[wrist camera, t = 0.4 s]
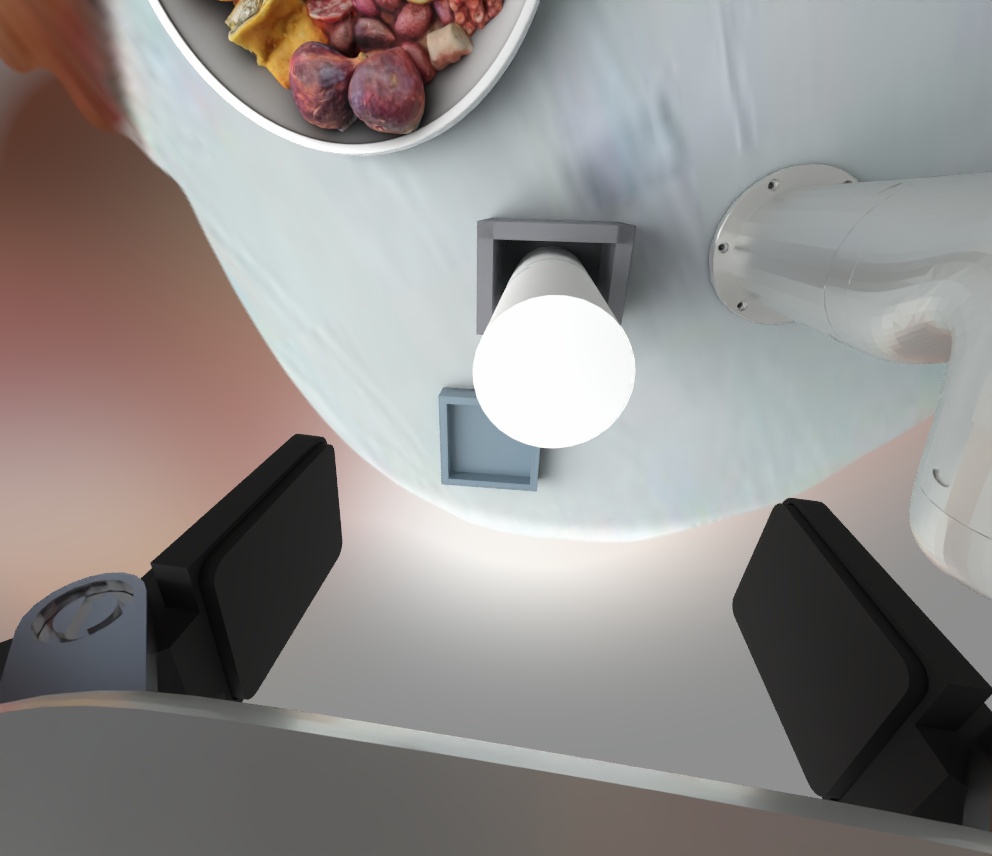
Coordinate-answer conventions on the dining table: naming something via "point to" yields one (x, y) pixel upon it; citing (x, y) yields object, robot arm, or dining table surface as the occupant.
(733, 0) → the dining table surface
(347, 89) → the bowl
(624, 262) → the bay
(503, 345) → the cylindrical container
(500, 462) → the tray
